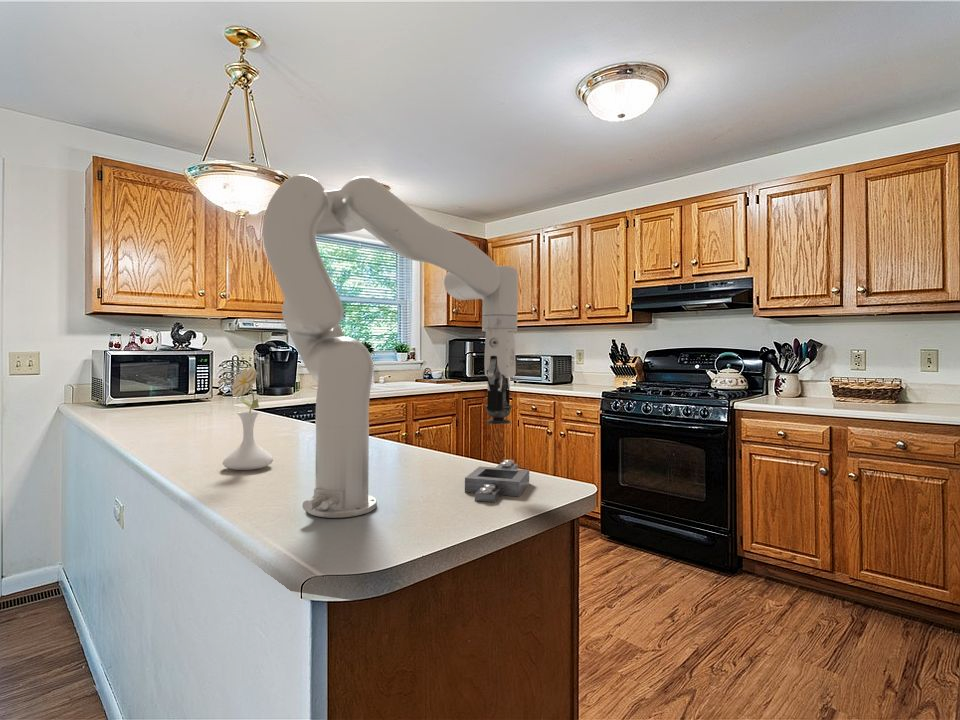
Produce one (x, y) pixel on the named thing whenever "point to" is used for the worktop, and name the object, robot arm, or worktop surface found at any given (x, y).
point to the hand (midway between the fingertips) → (498, 408)
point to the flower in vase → (247, 429)
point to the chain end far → (502, 470)
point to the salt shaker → (499, 415)
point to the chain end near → (493, 491)
